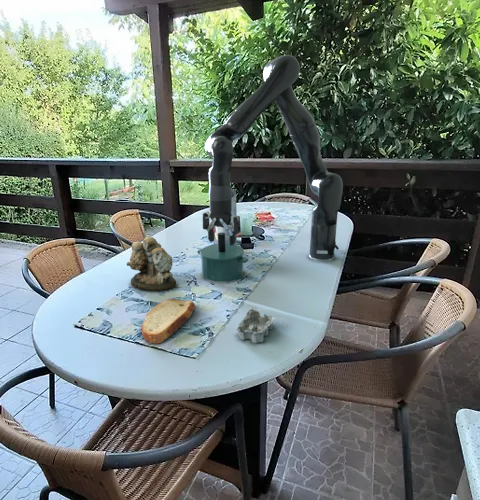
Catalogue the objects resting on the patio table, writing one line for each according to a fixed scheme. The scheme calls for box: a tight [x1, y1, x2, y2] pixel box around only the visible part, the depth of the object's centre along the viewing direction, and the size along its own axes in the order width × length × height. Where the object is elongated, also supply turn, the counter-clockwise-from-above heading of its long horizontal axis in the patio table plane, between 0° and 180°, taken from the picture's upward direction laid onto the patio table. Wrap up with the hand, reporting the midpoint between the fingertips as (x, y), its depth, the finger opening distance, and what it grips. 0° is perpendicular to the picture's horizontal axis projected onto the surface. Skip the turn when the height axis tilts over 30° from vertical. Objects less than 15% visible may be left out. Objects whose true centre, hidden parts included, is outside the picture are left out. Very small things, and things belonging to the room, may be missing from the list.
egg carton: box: [235, 307, 275, 344], centre depth 96 cm, size 11×8×4 cm
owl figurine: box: [126, 235, 177, 293], centre depth 125 cm, size 18×12×17 cm, turn 69°
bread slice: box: [141, 298, 196, 345], centre depth 103 cm, size 18×18×4 cm
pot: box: [197, 248, 249, 283], centre depth 131 cm, size 15×20×8 cm
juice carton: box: [212, 188, 238, 245], centre depth 155 cm, size 9×10×27 cm
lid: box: [200, 233, 245, 261], centre depth 129 cm, size 16×16×8 cm
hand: (221, 243), depth 129 cm, fingers open, 8 cm apart
